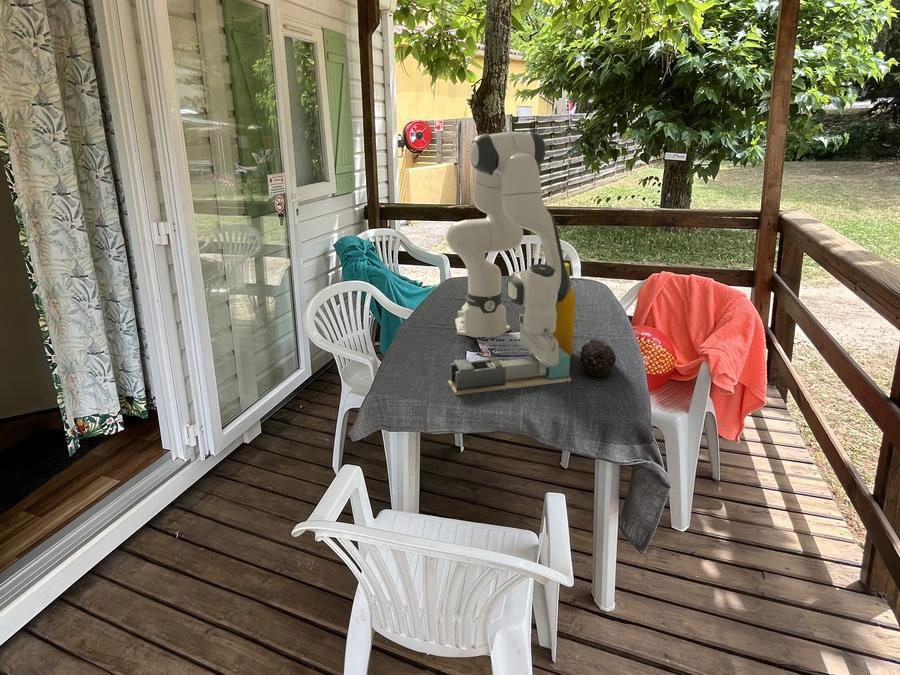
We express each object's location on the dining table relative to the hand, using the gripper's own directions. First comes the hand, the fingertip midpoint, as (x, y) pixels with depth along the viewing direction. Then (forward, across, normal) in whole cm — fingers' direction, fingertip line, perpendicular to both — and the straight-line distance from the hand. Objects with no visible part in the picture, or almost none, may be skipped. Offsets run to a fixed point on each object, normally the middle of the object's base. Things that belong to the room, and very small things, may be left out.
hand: (538, 369), depth 180 cm
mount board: (+3, 0, +8) cm, 9 cm away
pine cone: (+3, +2, -19) cm, 19 cm away
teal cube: (+3, 0, -5) cm, 6 cm away
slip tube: (+1, 0, +5) cm, 5 cm away
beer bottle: (+3, +16, -13) cm, 21 cm away
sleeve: (+3, 0, +18) cm, 18 cm away
